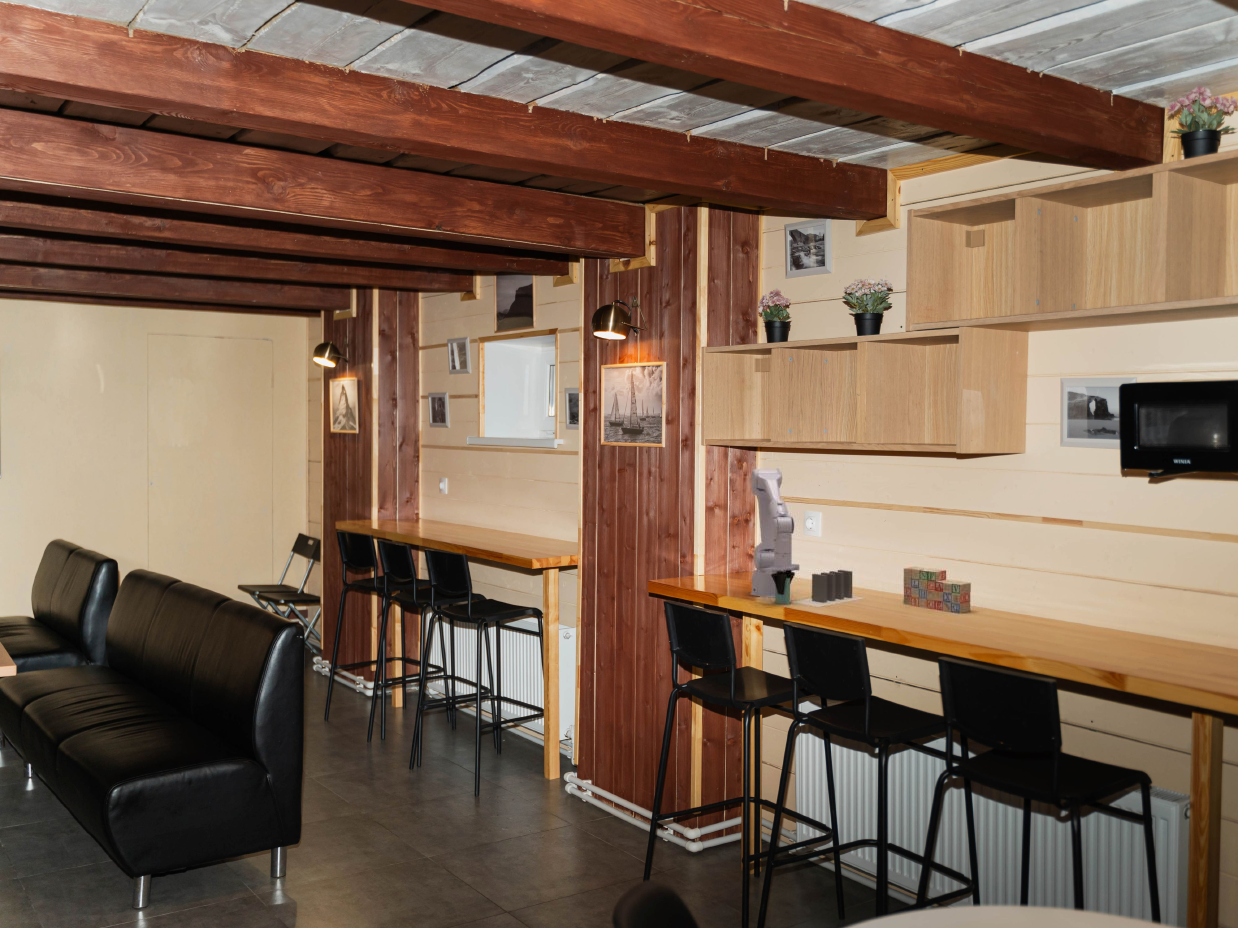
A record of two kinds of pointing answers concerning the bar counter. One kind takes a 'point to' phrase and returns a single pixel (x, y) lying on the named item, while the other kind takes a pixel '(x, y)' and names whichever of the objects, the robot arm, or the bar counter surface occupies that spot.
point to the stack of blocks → (935, 590)
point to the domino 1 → (786, 596)
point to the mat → (819, 604)
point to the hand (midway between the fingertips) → (782, 593)
